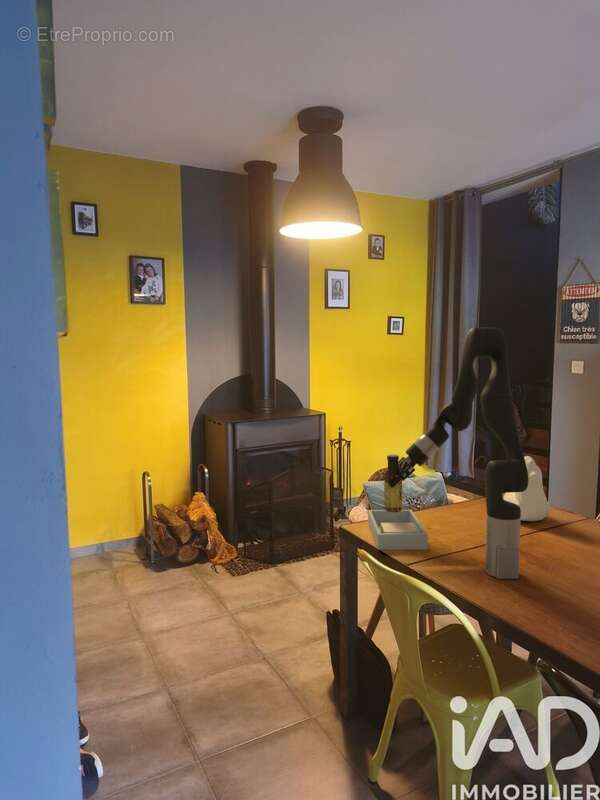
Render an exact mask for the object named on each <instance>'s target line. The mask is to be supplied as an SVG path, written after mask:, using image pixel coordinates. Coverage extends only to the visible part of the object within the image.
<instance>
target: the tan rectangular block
mask: <svg viewBox="0 0 600 800" xmlns="http://www.w3.org/2000/svg"><path fill="white" fill-rule="evenodd" d="M380 533H418V530H417V529H416V527H415V526H414V524H413V523H381V526H380Z"/></svg>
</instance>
